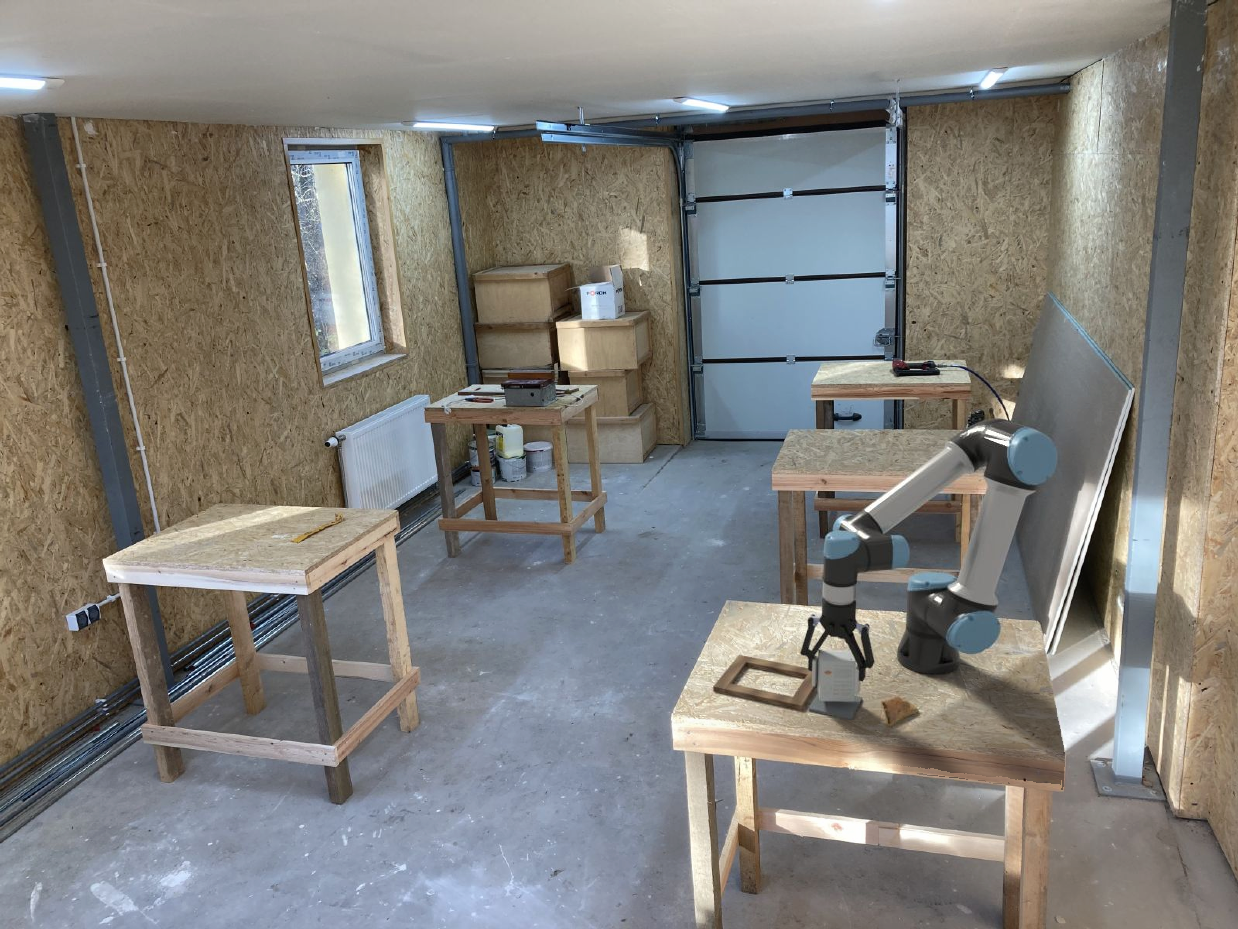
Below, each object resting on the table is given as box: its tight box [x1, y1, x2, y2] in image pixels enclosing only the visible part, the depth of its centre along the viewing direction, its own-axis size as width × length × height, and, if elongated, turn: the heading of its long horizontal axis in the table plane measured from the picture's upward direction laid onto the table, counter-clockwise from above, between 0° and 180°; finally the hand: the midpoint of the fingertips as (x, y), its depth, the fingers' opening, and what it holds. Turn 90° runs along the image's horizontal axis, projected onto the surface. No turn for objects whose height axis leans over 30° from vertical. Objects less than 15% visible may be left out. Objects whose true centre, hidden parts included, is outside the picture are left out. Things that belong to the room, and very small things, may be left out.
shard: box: [880, 696, 919, 728], centre depth 217 cm, size 11×8×2 cm
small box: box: [816, 649, 857, 702], centre depth 219 cm, size 8×6×10 cm
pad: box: [808, 693, 863, 721], centre depth 221 cm, size 10×10×1 cm
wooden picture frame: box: [712, 654, 818, 711], centre depth 232 cm, size 22×18×1 cm
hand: (835, 687), depth 220 cm, fingers closed on small box, 9 cm apart
